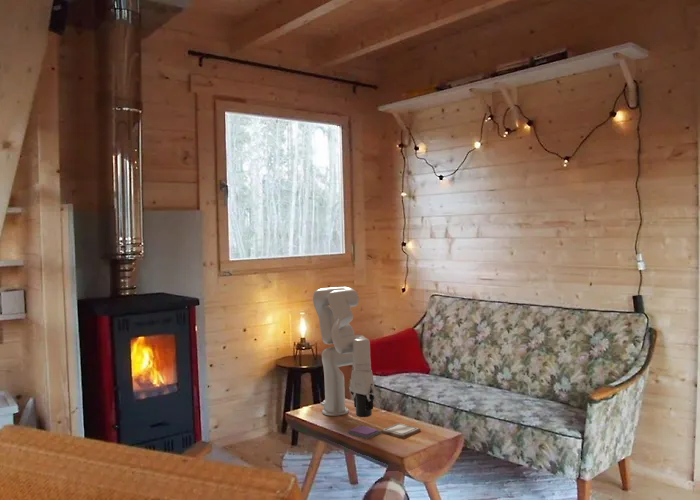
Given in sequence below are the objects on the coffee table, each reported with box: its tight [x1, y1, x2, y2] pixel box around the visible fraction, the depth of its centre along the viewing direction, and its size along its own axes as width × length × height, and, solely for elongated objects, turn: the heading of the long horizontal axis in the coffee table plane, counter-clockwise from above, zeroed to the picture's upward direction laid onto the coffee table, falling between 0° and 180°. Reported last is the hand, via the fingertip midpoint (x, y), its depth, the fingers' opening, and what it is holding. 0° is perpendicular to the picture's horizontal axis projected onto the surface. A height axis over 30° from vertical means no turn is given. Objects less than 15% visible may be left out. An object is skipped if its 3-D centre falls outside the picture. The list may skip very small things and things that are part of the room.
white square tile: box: [380, 422, 421, 439], centre depth 270 cm, size 12×12×1 cm
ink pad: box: [347, 425, 382, 440], centre depth 269 cm, size 11×9×2 cm
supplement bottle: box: [355, 394, 373, 418], centre depth 269 cm, size 7×7×12 cm
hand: (363, 407), depth 269 cm, fingers closed on supplement bottle, 6 cm apart
